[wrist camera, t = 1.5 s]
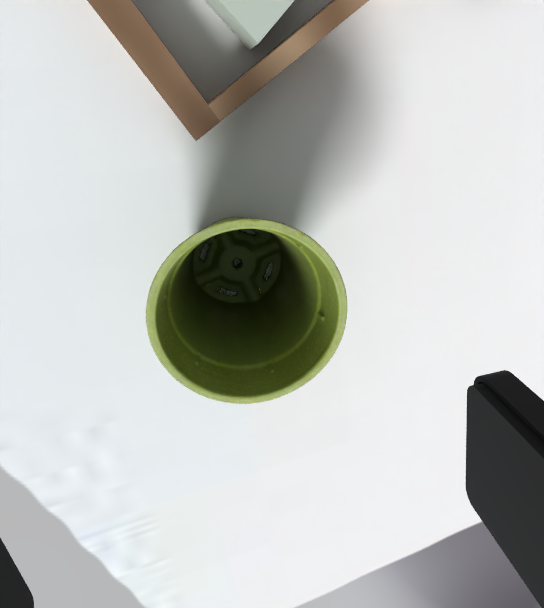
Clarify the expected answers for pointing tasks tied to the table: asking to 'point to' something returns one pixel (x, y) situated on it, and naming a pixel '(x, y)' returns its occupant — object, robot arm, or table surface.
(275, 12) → the grey green block
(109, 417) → the table surface
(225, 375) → the plant pot
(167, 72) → the wooden u-shaped frame
